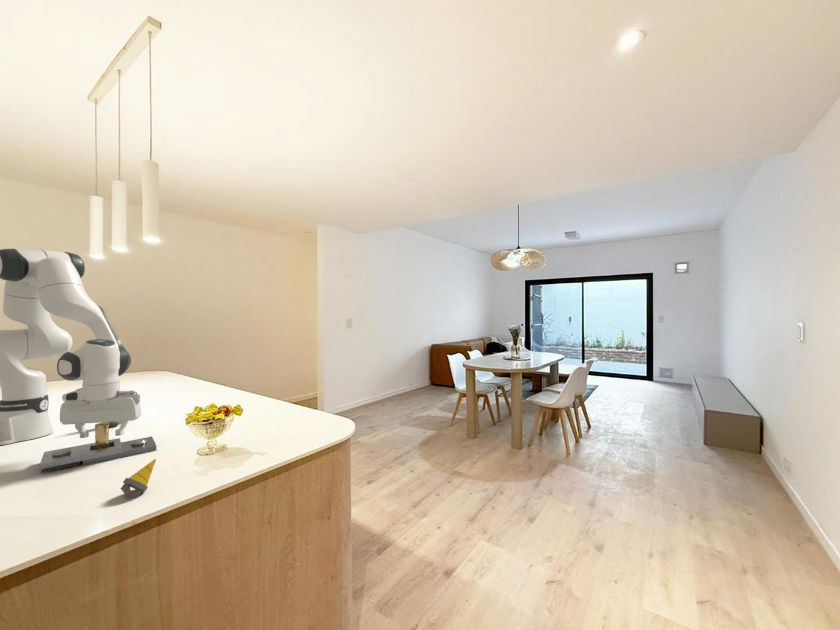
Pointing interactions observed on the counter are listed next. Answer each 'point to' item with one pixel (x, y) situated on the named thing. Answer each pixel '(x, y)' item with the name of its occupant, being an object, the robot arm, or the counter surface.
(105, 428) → the brass pin
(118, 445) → the gray mounting plate
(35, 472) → the counter surface
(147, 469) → the yellow pointed cone
